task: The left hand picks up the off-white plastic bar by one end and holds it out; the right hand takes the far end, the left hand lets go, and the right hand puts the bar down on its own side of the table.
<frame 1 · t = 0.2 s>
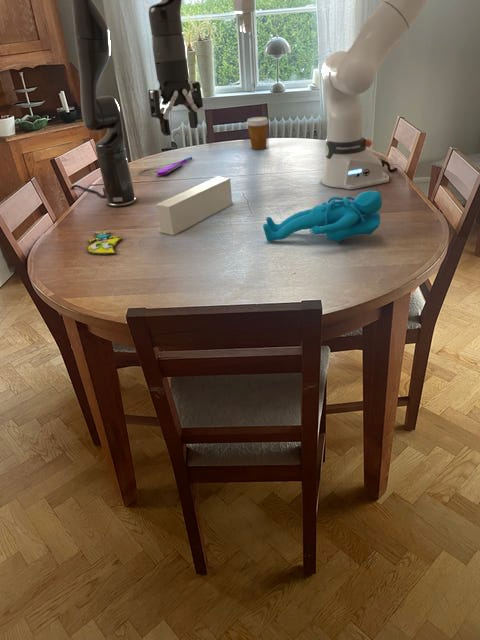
left hand: (180, 131, 119), 28 cm above the table, tool pointing down, fingers open, 8 cm apart
right hand: (245, 31, 136), 47 cm above the table, tool pointing down, fingers open, 8 cm apart
disposable coffee cup: (258, 148, 213), on the table
toy 2: (103, 244, 135), on the table
musical instrument: (165, 168, 196), on the table
bar: (198, 217, 147), on the table
toy: (320, 239, 126), on the table
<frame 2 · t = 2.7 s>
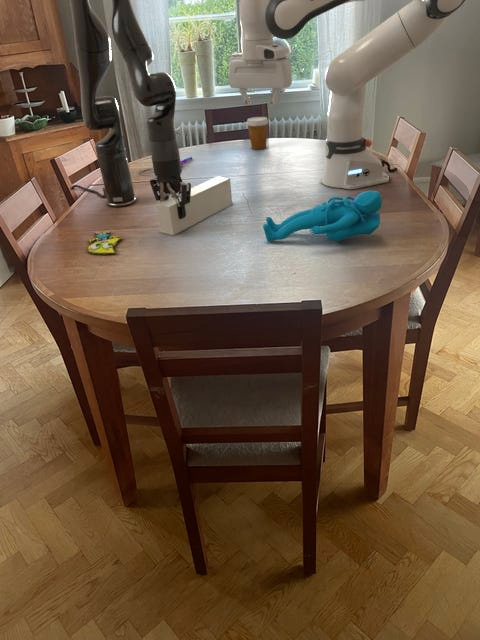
left hand: (175, 216, 138), 4 cm above the table, tool pointing down, fingers closed on bar, 5 cm apart
right hand: (260, 104, 142), 28 cm above the table, tool pointing down, fingers open, 8 cm apart
bar: (198, 217, 147), on the table, touching left hand
everything else where it was.
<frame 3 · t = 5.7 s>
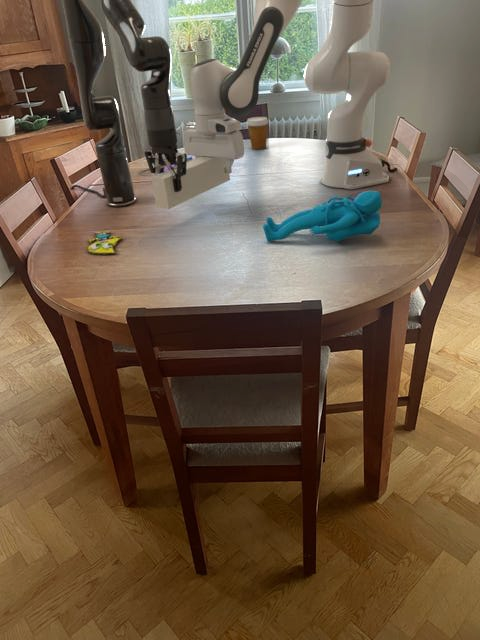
left hand: (170, 189, 134), 12 cm above the table, tool pointing down, fingers closed on bar, 5 cm apart
right hand: (215, 171, 146), 12 cm above the table, tool pointing down, fingers open, 8 cm apart
bar: (195, 192, 142), point 8 cm above the table, touching left hand
everything else where it was.
when the left hand's fingers open (12 cm above the table, at t = 7.4 s): bar stays where it is, held by the right hand.
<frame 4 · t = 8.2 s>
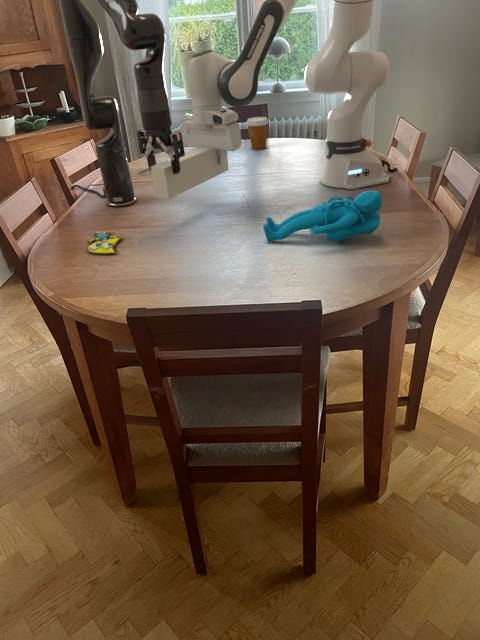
left hand: (164, 171, 130), 17 cm above the table, tool pointing down, fingers open, 8 cm apart
right hand: (213, 163, 146), 14 cm above the table, tool pointing down, fingers closed on bar, 5 cm apart
bar: (194, 182, 142), point 10 cm above the table, touching right hand
everything else where it was.
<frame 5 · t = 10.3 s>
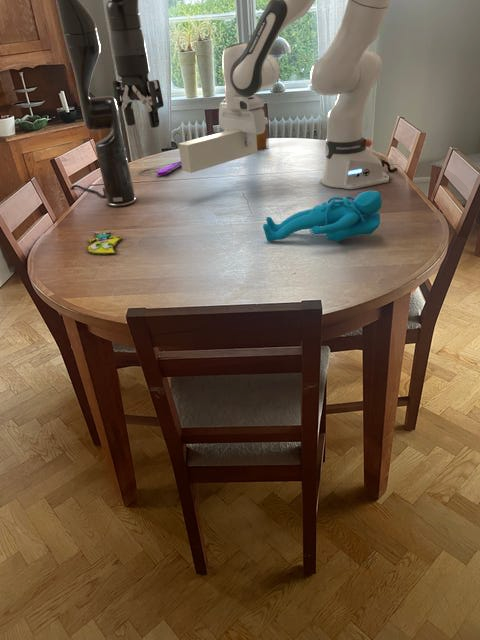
left hand: (143, 126, 120), 30 cm above the table, tool pointing down, fingers open, 8 cm apart
right hand: (242, 145, 162), 14 cm above the table, tool pointing down, fingers closed on bar, 5 cm apart
bar: (221, 161, 159), point 11 cm above the table, touching right hand
everything else where it was.
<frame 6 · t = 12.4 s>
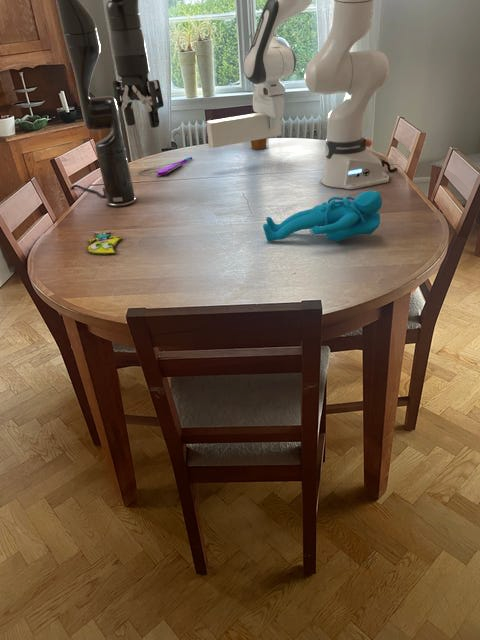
left hand: (143, 126, 120), 30 cm above the table, tool pointing down, fingers open, 8 cm apart
right hand: (268, 127, 182), 14 cm above the table, tool pointing down, fingers closed on bar, 5 cm apart
bar: (245, 140, 181), point 11 cm above the table, touching right hand
everything else where it was.
when the right hand's fingers open (5 cm above the table, at t = 14.3 s): bar stays where it is, on the table.
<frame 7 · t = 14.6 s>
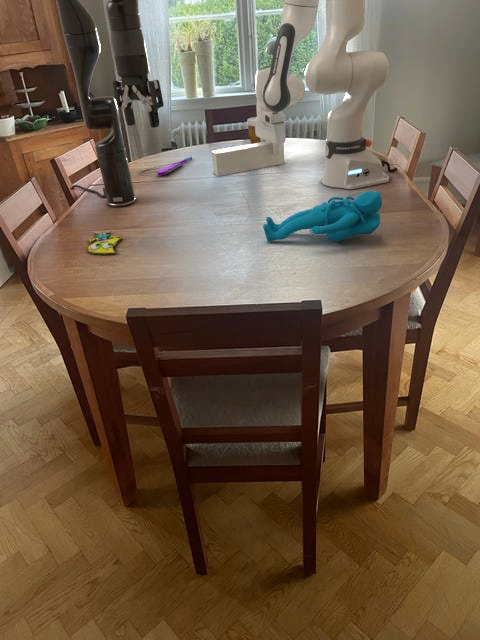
left hand: (143, 126, 120), 30 cm above the table, tool pointing down, fingers open, 8 cm apart
right hand: (270, 152, 187), 5 cm above the table, tool pointing down, fingers open, 8 cm apart
bar: (249, 168, 187), on the table
everything else where it was.
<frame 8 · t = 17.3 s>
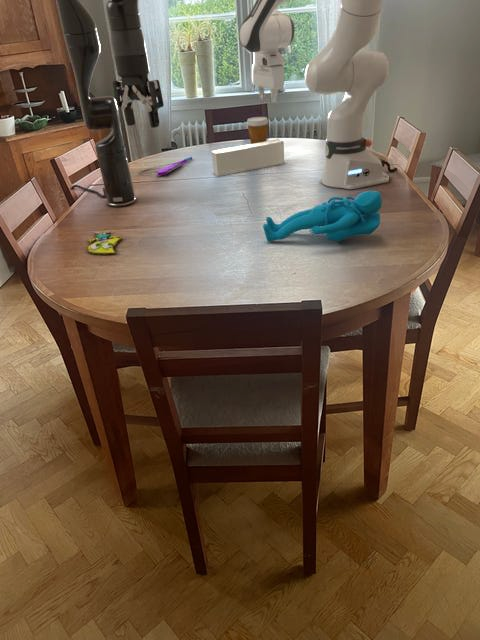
left hand: (143, 126, 120), 30 cm above the table, tool pointing down, fingers open, 8 cm apart
right hand: (268, 100, 177), 23 cm above the table, tool pointing down, fingers open, 8 cm apart
nothing on the table moved.
at the end: bar inside the target area (9.3 cm from its centre), on the table; the left hand is holding nothing; the right hand is holding nothing; bar at rest at the end (0.0 cm/s) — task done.
